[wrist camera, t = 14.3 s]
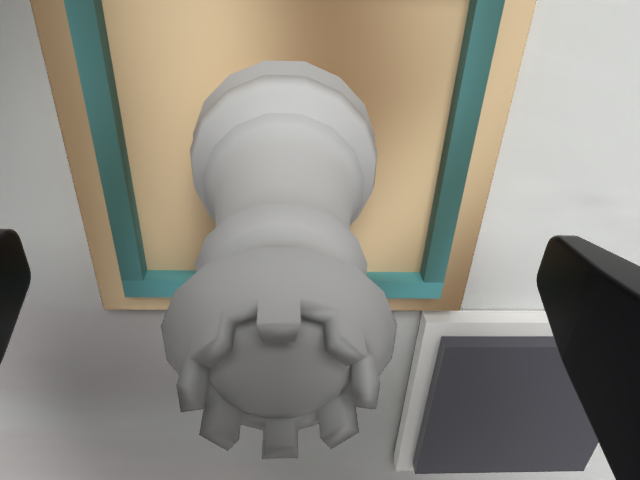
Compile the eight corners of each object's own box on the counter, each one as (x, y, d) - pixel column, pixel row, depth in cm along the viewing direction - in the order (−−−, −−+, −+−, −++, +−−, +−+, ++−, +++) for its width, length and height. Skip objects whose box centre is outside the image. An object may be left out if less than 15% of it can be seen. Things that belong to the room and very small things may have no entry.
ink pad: (393, 458, 22) (397, 482, 21) (422, 310, 17) (429, 333, 16) (580, 455, 22) (593, 479, 21) (654, 311, 18) (674, 333, 17)
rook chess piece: (403, 168, 14) (510, 426, 7) (263, 246, 15) (241, 531, 8) (313, 13, 12) (343, 173, 5) (157, 119, 13) (8, 365, 6)
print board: (109, 296, 16) (98, 320, 15) (11, -136, 10) (-16, -138, 9) (454, 298, 17) (464, 321, 16) (550, -106, 11) (574, -106, 10)
